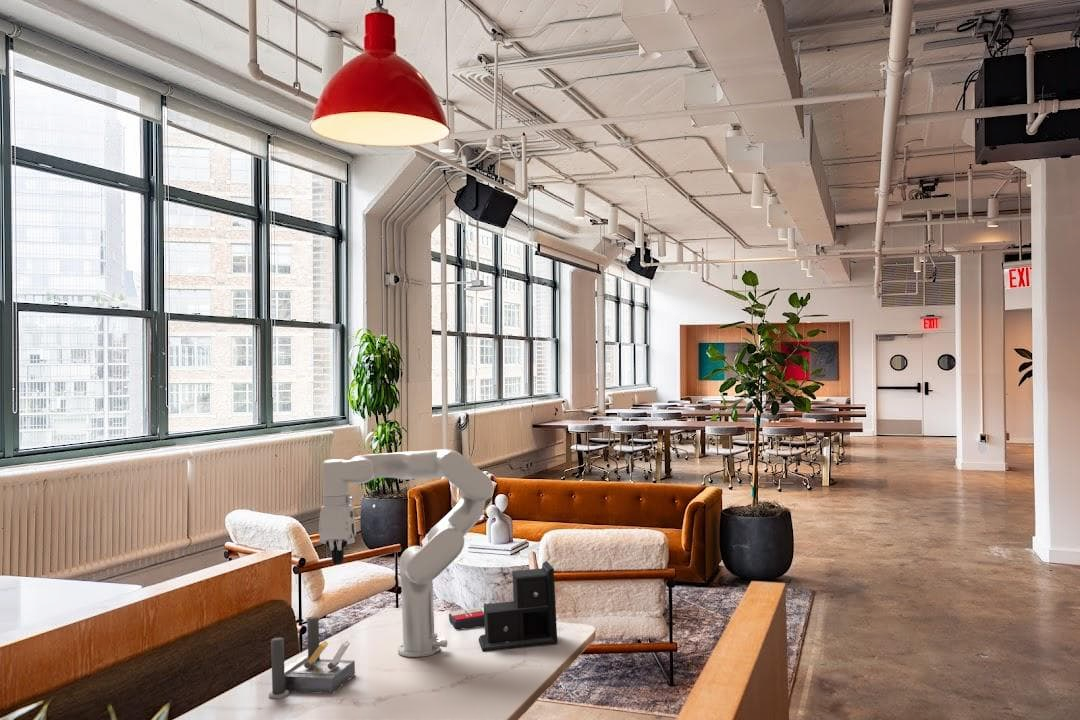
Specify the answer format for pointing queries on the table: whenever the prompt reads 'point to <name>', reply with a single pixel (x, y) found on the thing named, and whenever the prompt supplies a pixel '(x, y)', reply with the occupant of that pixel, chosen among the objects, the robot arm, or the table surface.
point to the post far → (313, 635)
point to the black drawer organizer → (523, 613)
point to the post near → (278, 669)
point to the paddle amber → (316, 654)
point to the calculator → (467, 618)
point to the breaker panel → (317, 675)
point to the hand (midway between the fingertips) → (338, 563)
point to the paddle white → (338, 655)
